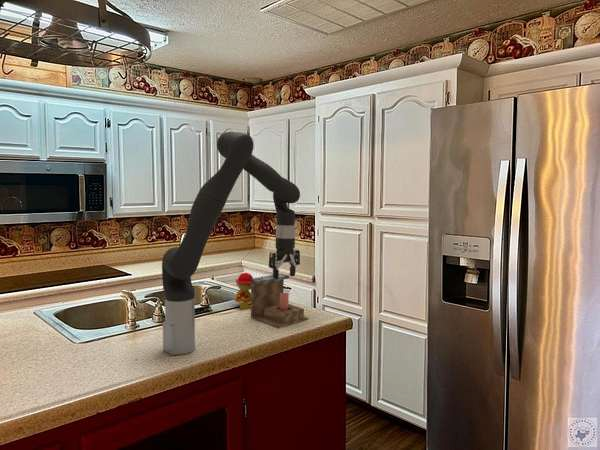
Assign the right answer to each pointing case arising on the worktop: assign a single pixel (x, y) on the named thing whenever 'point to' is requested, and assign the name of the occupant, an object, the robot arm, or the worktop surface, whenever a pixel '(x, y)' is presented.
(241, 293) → the toy
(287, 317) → the socket station
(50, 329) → the worktop surface
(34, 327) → the worktop surface
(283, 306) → the peg
